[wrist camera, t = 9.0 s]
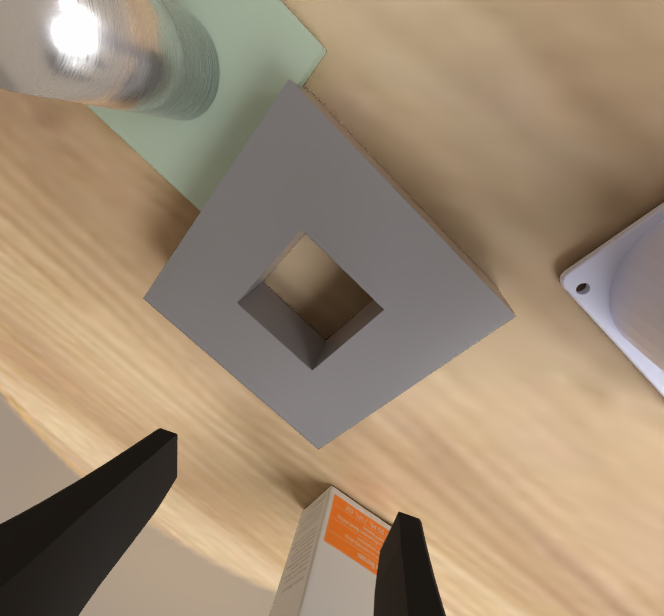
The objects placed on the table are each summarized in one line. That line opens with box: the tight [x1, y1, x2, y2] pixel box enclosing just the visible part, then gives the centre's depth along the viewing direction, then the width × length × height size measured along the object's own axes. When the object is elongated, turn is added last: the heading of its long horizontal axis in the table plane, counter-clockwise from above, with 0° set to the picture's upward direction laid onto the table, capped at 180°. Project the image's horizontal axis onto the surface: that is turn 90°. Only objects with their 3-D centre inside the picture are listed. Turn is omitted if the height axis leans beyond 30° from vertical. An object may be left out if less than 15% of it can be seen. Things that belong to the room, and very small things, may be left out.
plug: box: [0, 0, 220, 121], centre depth 11 cm, size 4×4×7 cm
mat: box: [85, 0, 327, 212], centre depth 15 cm, size 9×9×1 cm
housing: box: [143, 79, 516, 450], centre depth 16 cm, size 12×12×3 cm
